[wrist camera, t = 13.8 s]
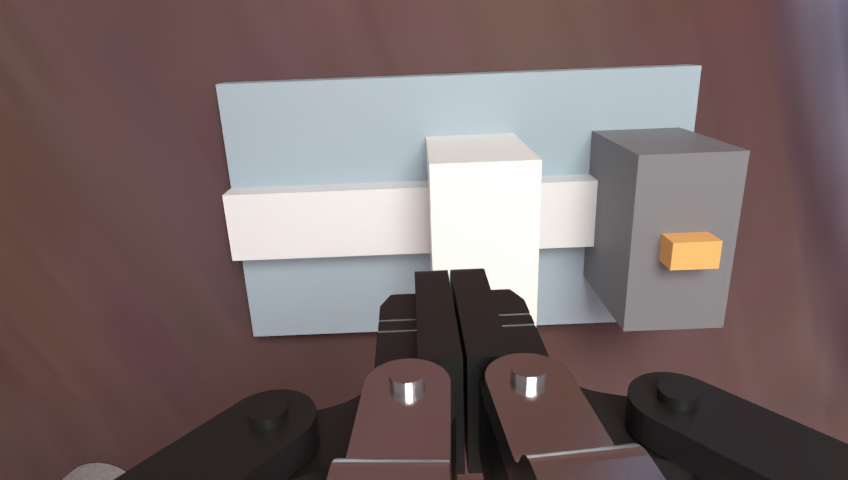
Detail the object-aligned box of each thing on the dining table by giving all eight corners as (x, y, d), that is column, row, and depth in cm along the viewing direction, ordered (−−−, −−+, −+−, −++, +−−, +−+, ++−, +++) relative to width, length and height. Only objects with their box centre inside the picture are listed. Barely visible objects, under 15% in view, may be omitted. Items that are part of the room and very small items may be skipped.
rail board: (225, 82, 30) (146, 100, 21) (687, 64, 30) (800, 74, 21) (260, 324, 34) (208, 420, 26) (660, 308, 34) (744, 399, 26)
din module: (425, 136, 29) (429, 163, 23) (513, 133, 29) (541, 160, 23) (430, 280, 32) (435, 341, 26) (511, 277, 32) (535, 337, 26)
